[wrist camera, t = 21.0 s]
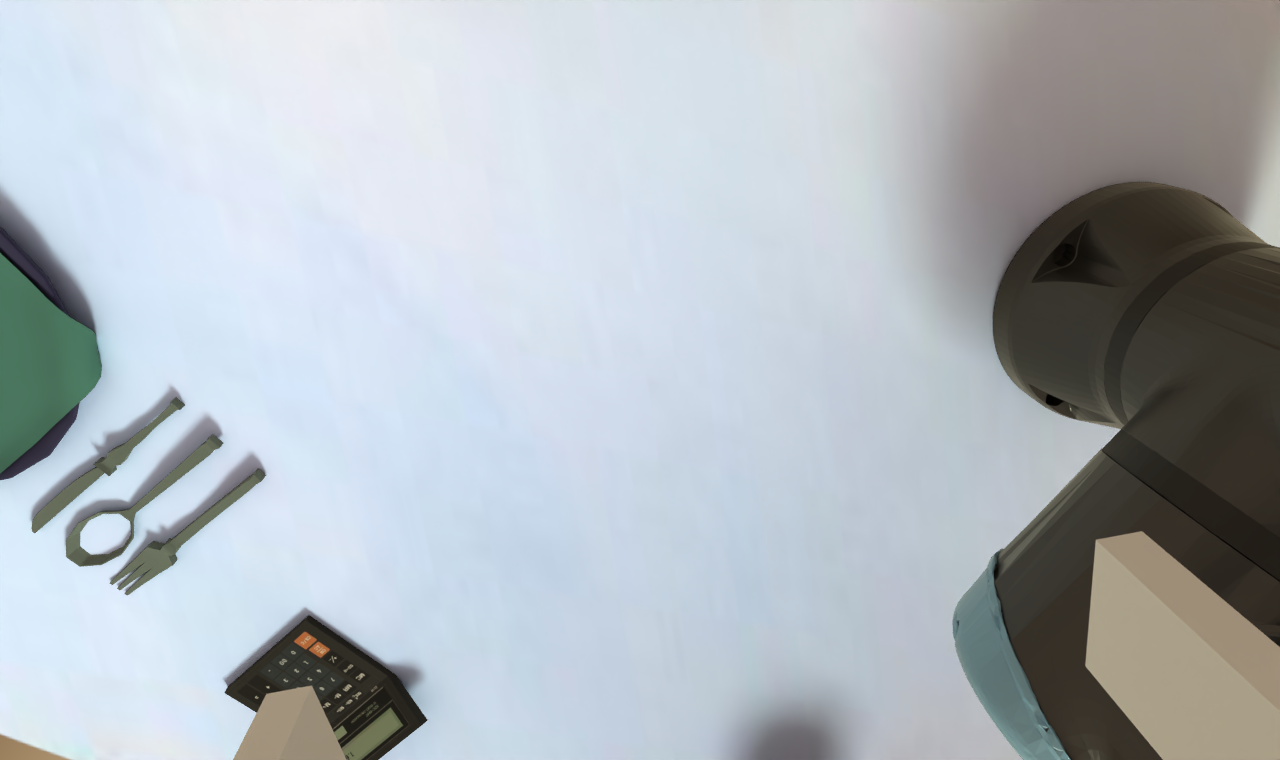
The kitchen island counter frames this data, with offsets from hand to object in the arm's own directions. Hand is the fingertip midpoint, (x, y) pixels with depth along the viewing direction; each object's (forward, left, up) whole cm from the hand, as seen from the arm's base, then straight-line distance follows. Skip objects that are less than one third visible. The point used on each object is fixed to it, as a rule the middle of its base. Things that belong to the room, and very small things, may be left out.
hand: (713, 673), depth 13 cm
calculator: (+28, +30, -35) cm, 54 cm away
